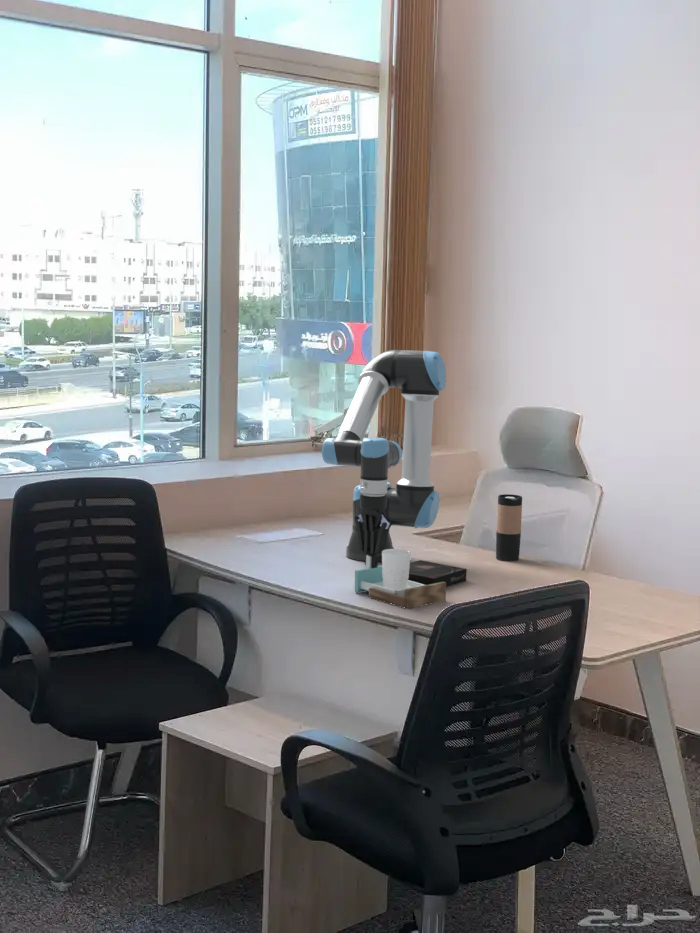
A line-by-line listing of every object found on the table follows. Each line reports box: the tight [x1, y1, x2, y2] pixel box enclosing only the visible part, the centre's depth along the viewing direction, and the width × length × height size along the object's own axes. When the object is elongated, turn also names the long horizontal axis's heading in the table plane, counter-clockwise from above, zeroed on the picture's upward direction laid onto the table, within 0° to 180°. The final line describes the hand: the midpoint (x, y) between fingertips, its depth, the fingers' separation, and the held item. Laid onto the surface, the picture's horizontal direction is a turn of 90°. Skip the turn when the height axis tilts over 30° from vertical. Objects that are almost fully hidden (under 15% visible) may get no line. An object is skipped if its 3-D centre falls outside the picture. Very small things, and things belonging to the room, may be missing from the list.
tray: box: [354, 565, 424, 597], centre depth 318 cm, size 14×15×6 cm
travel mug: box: [495, 493, 523, 562], centre depth 366 cm, size 8×8×20 cm
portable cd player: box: [408, 559, 467, 588], centre depth 335 cm, size 16×17×4 cm
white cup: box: [381, 548, 412, 590], centre depth 317 cm, size 8×8×10 cm
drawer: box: [368, 582, 447, 610], centre depth 314 cm, size 14×15×5 cm
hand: (370, 577), depth 324 cm, fingers closed
